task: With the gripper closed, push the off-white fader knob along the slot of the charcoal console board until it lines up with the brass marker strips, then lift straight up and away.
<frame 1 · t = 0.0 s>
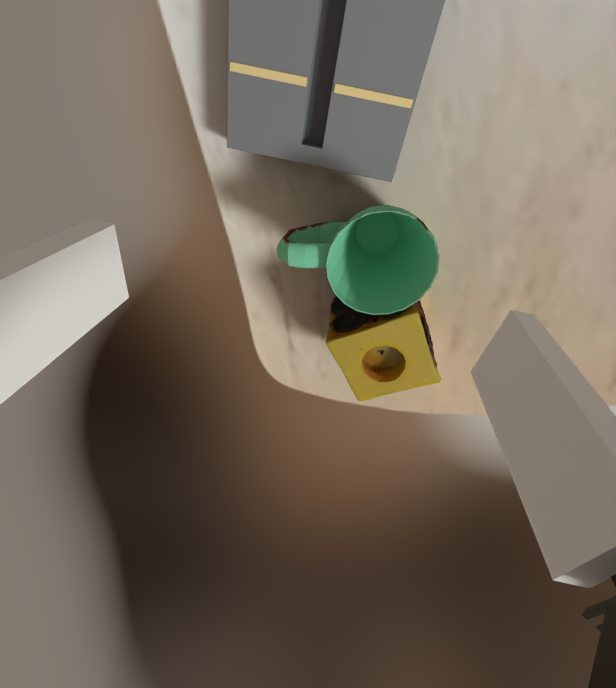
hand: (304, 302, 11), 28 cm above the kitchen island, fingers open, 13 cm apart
yellow cube with holes: (381, 313, 43), on the kitchen island
mug: (355, 229, 37), on the kitchen island
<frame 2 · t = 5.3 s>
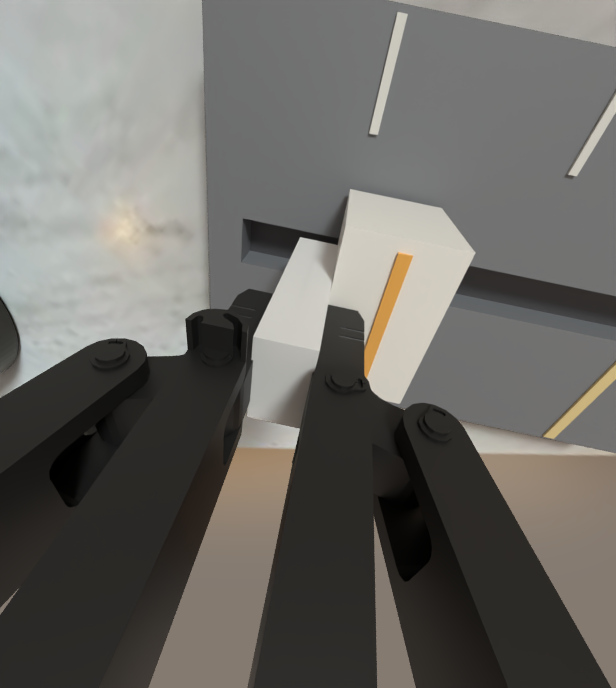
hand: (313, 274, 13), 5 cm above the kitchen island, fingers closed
fader tab: (374, 288, 13), point 5 cm above the kitchen island, slide at 1.4 cm, touching gripper
console: (479, 267, 17), on the kitchen island
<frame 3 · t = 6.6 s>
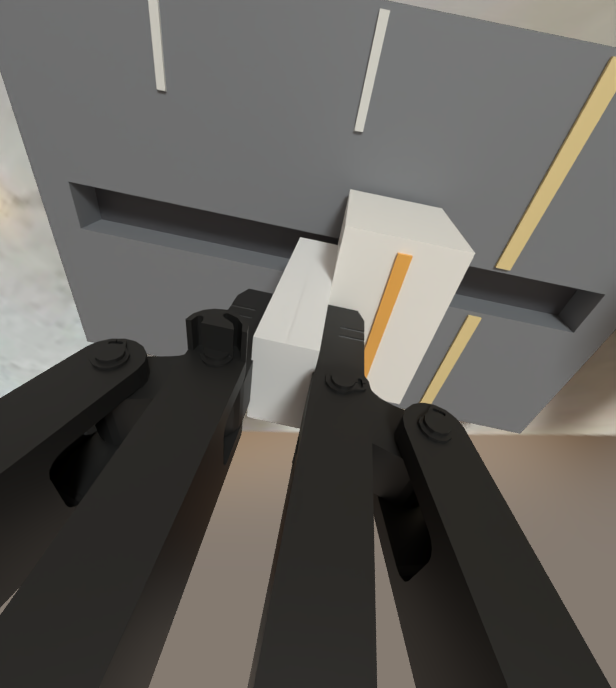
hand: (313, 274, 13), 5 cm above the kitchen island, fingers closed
fader tab: (374, 288, 13), point 5 cm above the kitchen island, slide at 8.9 cm, touching gripper
console: (335, 237, 17), on the kitchen island
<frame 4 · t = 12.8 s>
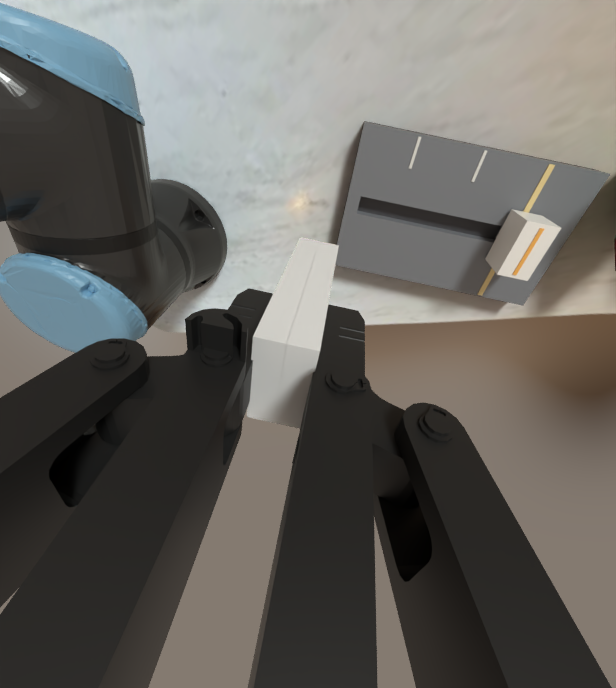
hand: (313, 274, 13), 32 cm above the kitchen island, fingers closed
fader tab: (517, 242, 37), point 5 cm above the kitchen island, slide at 14.0 cm
console: (448, 218, 41), on the kitchen island
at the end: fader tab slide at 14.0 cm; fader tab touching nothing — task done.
